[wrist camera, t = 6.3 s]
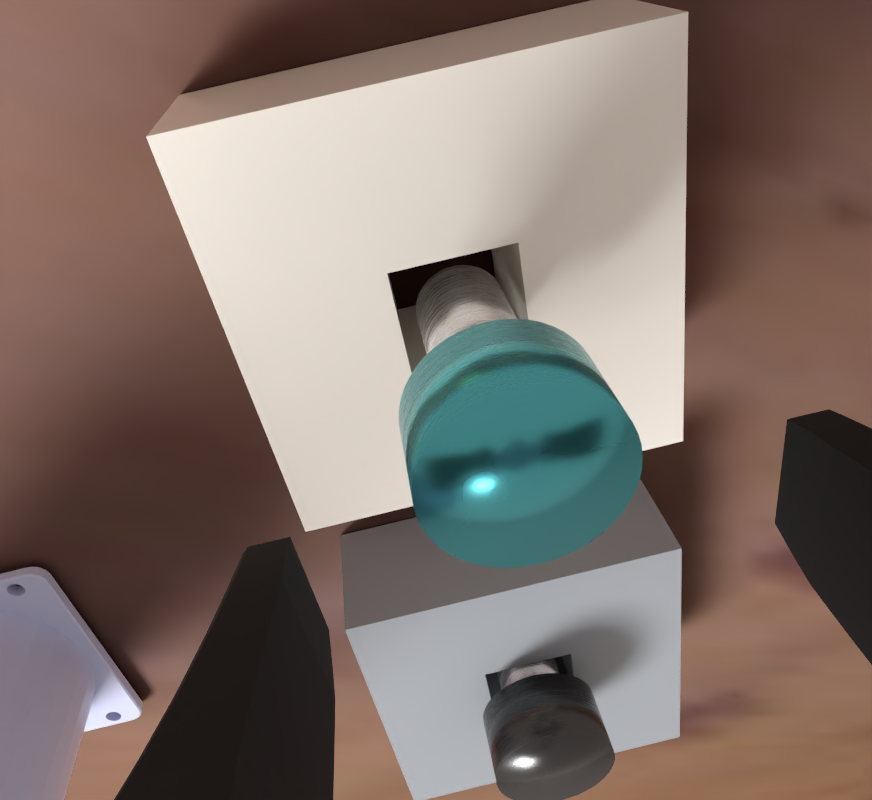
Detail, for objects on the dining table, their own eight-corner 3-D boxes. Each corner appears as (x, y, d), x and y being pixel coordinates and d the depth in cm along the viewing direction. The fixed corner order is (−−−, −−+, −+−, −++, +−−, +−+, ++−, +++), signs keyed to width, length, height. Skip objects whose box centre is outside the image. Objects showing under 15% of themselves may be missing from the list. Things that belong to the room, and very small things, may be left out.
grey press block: (403, 706, 30) (414, 802, 26) (340, 535, 24) (345, 630, 21) (639, 648, 30) (679, 736, 26) (632, 465, 24) (681, 548, 21)
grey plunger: (468, 648, 27) (504, 813, 22) (452, 585, 25) (488, 751, 20) (560, 626, 28) (617, 786, 22) (551, 561, 26) (611, 721, 20)
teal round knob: (398, 391, 17) (435, 589, 12) (362, 250, 15) (388, 417, 10) (545, 355, 17) (645, 538, 12) (528, 211, 15) (639, 357, 10)
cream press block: (306, 442, 22) (305, 531, 18) (179, 94, 16) (146, 137, 13) (628, 365, 22) (683, 441, 19) (613, -6, 16) (688, 11, 13)
